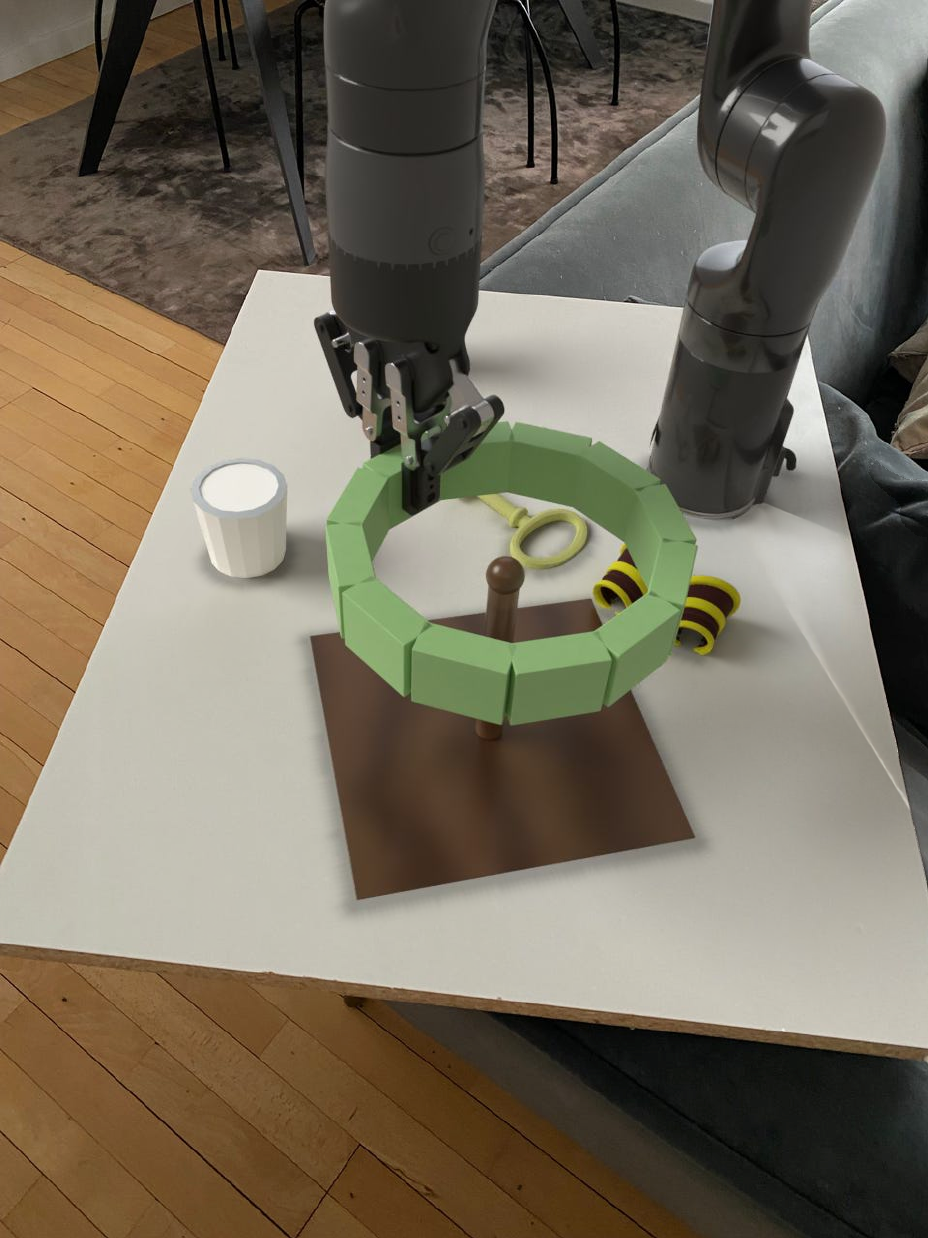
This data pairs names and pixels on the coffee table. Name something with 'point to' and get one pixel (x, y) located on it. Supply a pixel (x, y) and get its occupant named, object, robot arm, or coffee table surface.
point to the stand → (486, 767)
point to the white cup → (242, 515)
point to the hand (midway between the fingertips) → (404, 495)
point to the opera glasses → (703, 604)
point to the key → (529, 524)
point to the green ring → (493, 669)
